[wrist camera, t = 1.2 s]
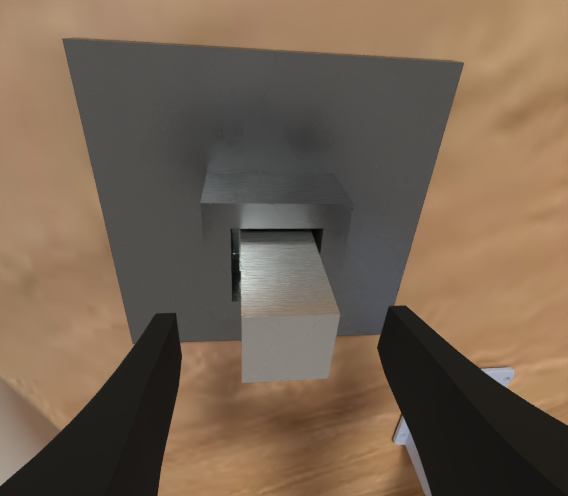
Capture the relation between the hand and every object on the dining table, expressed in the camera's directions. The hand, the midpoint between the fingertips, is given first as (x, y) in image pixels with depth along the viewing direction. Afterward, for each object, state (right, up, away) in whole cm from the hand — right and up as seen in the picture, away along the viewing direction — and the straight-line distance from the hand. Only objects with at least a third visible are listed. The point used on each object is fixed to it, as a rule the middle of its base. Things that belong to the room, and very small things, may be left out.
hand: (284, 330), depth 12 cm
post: (-1, +4, +6) cm, 7 cm away
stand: (-1, +4, +7) cm, 8 cm away
